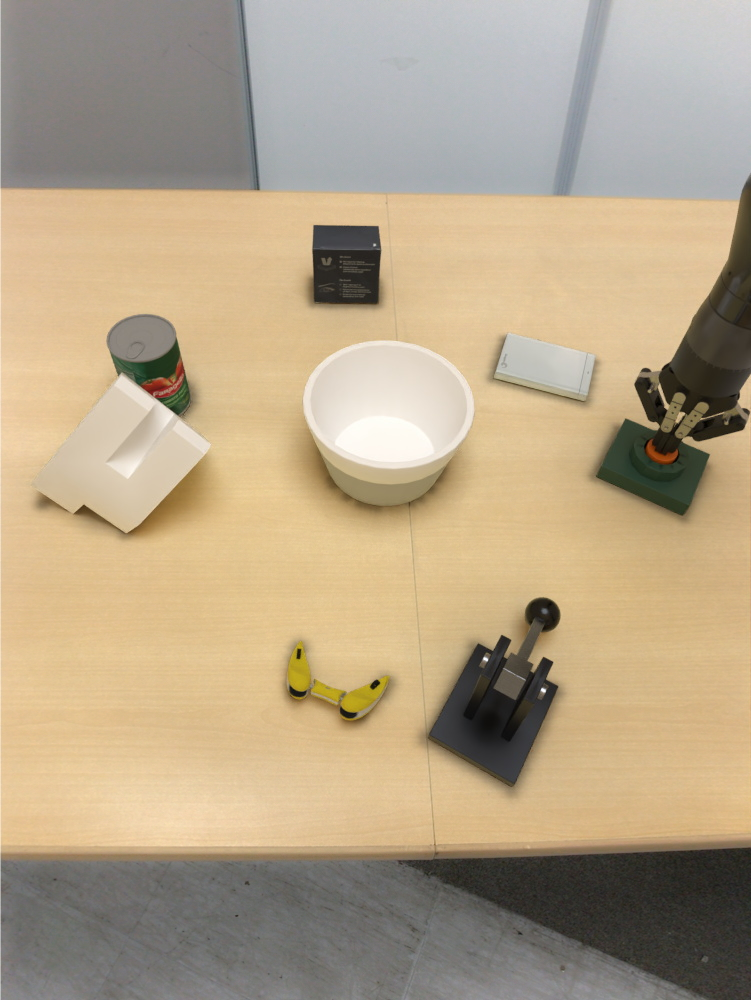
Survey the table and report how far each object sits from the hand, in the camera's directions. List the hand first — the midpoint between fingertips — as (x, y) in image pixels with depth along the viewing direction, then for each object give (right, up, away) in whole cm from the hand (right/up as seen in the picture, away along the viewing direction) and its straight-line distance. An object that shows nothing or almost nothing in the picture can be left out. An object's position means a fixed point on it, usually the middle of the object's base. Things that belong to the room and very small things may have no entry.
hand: (662, 448), depth 88 cm
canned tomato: (-62, +6, +6) cm, 62 cm away
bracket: (-23, -27, -15) cm, 38 cm away
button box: (0, -2, +4) cm, 4 cm away
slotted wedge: (-61, -4, -1) cm, 61 cm away
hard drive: (-11, +12, +13) cm, 21 cm away
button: (0, -1, +1) cm, 2 cm away
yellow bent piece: (-39, -25, -14) cm, 48 cm away
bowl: (-33, -1, +3) cm, 33 cm away
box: (-39, +24, +20) cm, 50 cm away
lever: (-20, -21, -17) cm, 34 cm away
